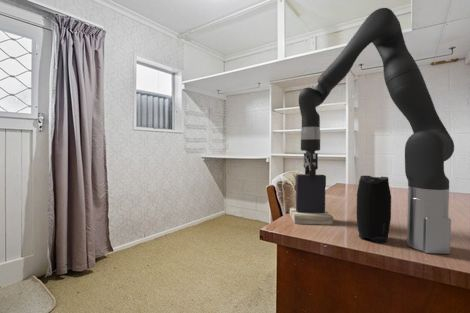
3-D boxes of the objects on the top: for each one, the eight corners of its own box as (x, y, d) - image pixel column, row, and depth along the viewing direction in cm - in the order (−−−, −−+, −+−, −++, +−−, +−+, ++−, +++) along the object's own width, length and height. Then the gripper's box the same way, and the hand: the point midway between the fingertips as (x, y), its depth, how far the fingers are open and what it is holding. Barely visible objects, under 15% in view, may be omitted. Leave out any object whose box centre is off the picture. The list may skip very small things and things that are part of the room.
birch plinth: (332, 224, 92) (332, 216, 92) (294, 223, 93) (294, 215, 93) (322, 215, 106) (322, 208, 106) (289, 214, 107) (289, 207, 107)
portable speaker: (353, 233, 83) (354, 175, 82) (384, 235, 81) (385, 175, 80) (360, 242, 74) (361, 177, 74) (395, 245, 72) (396, 178, 72)
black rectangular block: (322, 210, 101) (323, 174, 101) (325, 213, 97) (326, 175, 97) (295, 210, 102) (295, 174, 102) (297, 212, 98) (297, 175, 97)
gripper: (325, 137, 92) (324, 181, 92) (315, 139, 106) (315, 177, 106) (304, 137, 92) (304, 181, 93) (297, 139, 107) (297, 177, 107)
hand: (310, 179), depth 99 cm, fingers open, 8 cm apart
